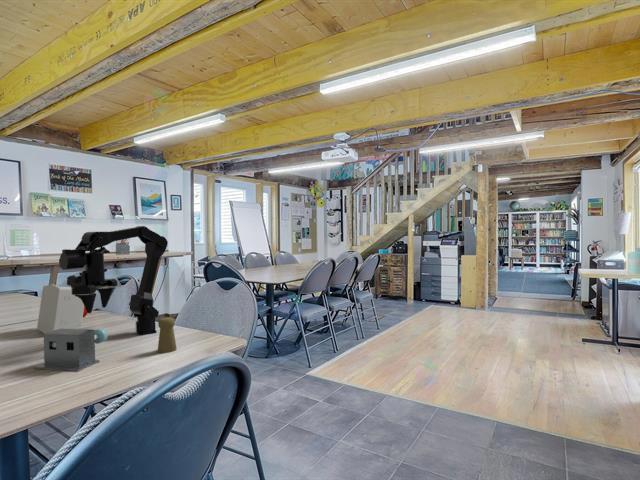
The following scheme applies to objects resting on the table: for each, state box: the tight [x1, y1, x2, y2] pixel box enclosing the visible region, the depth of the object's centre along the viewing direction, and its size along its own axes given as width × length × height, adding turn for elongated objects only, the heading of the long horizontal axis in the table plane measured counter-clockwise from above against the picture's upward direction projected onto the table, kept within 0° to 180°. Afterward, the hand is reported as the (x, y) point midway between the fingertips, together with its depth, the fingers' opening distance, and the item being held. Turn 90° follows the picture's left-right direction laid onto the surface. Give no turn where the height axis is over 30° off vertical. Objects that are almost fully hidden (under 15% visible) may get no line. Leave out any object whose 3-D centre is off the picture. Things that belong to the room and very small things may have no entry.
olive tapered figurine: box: [157, 316, 177, 354], centre depth 127 cm, size 6×6×11 cm
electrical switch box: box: [36, 283, 88, 334], centre depth 158 cm, size 15×15×20 cm
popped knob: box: [93, 327, 108, 344], centre depth 119 cm, size 8×4×4 cm, turn 170°
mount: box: [33, 328, 100, 372], centre depth 113 cm, size 8×15×10 cm, turn 80°
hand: (97, 310), depth 134 cm, fingers open, 9 cm apart
